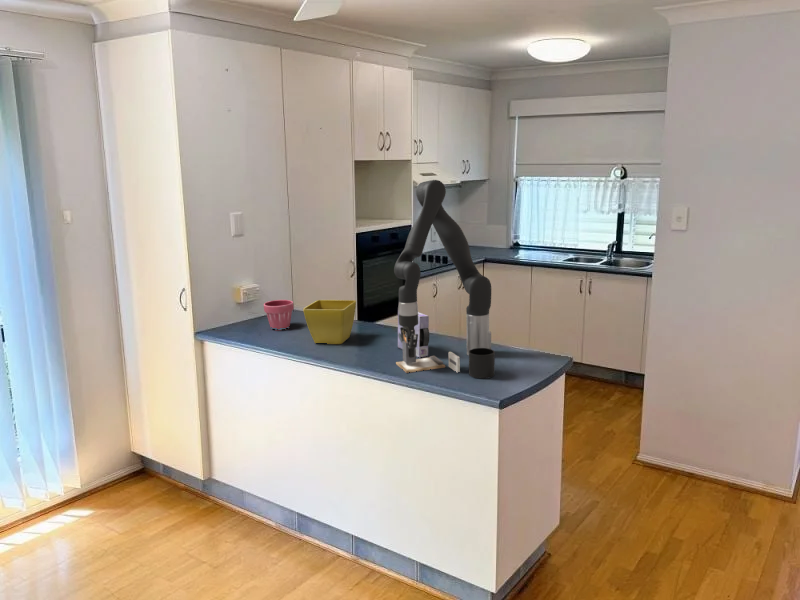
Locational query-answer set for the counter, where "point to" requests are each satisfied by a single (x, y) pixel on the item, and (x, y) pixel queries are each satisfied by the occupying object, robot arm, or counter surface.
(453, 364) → the block
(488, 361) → the mug
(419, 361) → the clipboard
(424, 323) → the cake pan box
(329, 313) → the flower pot
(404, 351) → the ball-topped gray post
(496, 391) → the counter surface
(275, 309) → the plant pot
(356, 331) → the counter surface
